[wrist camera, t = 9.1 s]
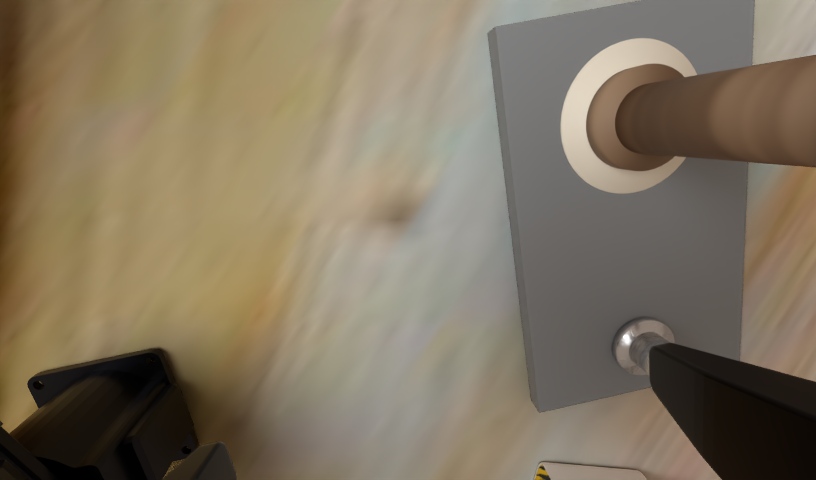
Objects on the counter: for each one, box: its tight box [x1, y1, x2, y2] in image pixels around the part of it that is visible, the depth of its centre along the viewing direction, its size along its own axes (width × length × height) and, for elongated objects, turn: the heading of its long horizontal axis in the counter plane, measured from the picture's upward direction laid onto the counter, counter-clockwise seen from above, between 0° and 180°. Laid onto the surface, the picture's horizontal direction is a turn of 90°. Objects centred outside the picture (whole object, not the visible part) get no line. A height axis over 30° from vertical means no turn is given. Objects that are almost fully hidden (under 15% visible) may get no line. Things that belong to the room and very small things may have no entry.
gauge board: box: [488, 0, 755, 413], centre depth 21 cm, size 12×20×1 cm, turn 10°
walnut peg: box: [586, 55, 816, 171], centre depth 14 cm, size 5×5×12 cm
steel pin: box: [611, 316, 675, 375], centre depth 21 cm, size 3×3×3 cm
